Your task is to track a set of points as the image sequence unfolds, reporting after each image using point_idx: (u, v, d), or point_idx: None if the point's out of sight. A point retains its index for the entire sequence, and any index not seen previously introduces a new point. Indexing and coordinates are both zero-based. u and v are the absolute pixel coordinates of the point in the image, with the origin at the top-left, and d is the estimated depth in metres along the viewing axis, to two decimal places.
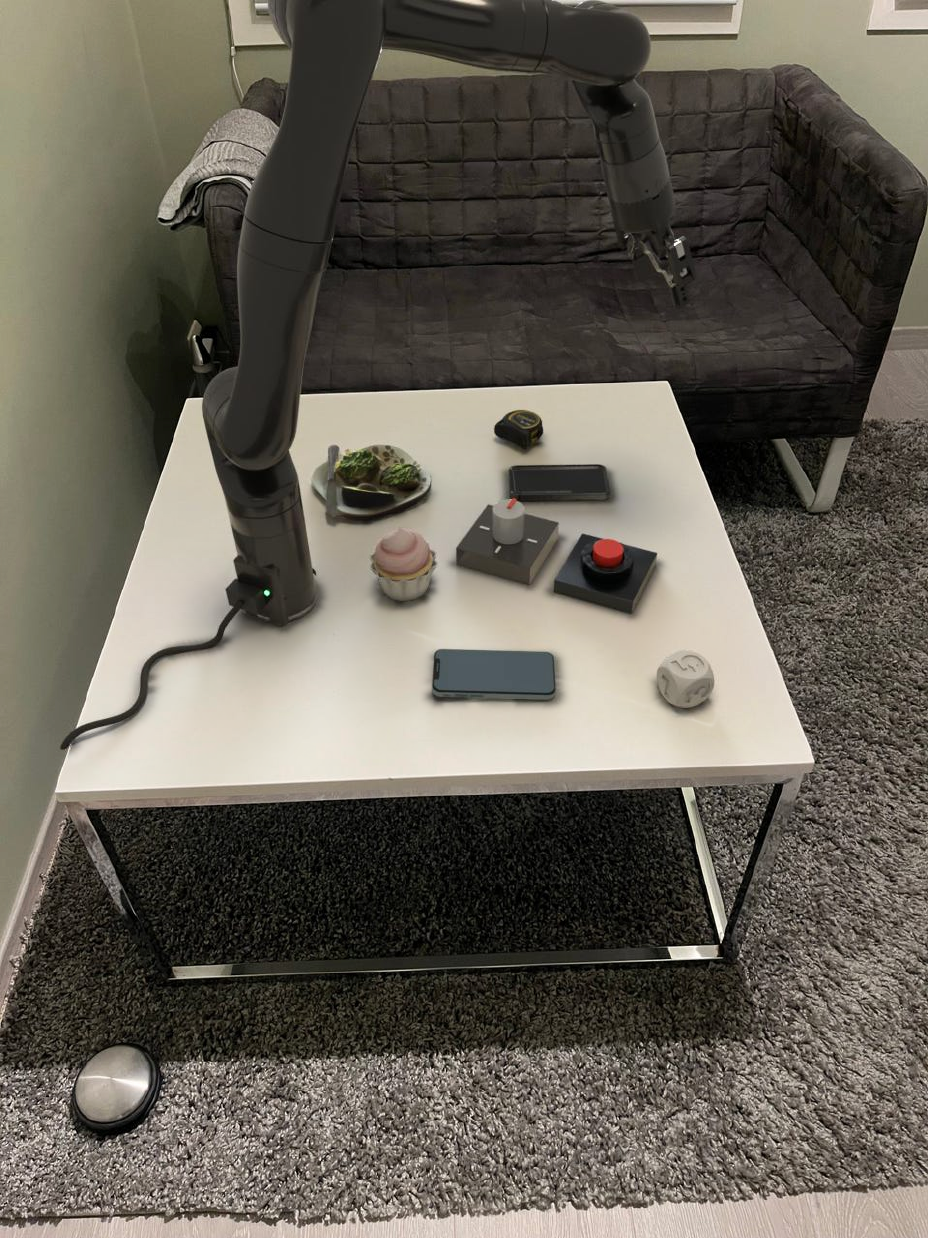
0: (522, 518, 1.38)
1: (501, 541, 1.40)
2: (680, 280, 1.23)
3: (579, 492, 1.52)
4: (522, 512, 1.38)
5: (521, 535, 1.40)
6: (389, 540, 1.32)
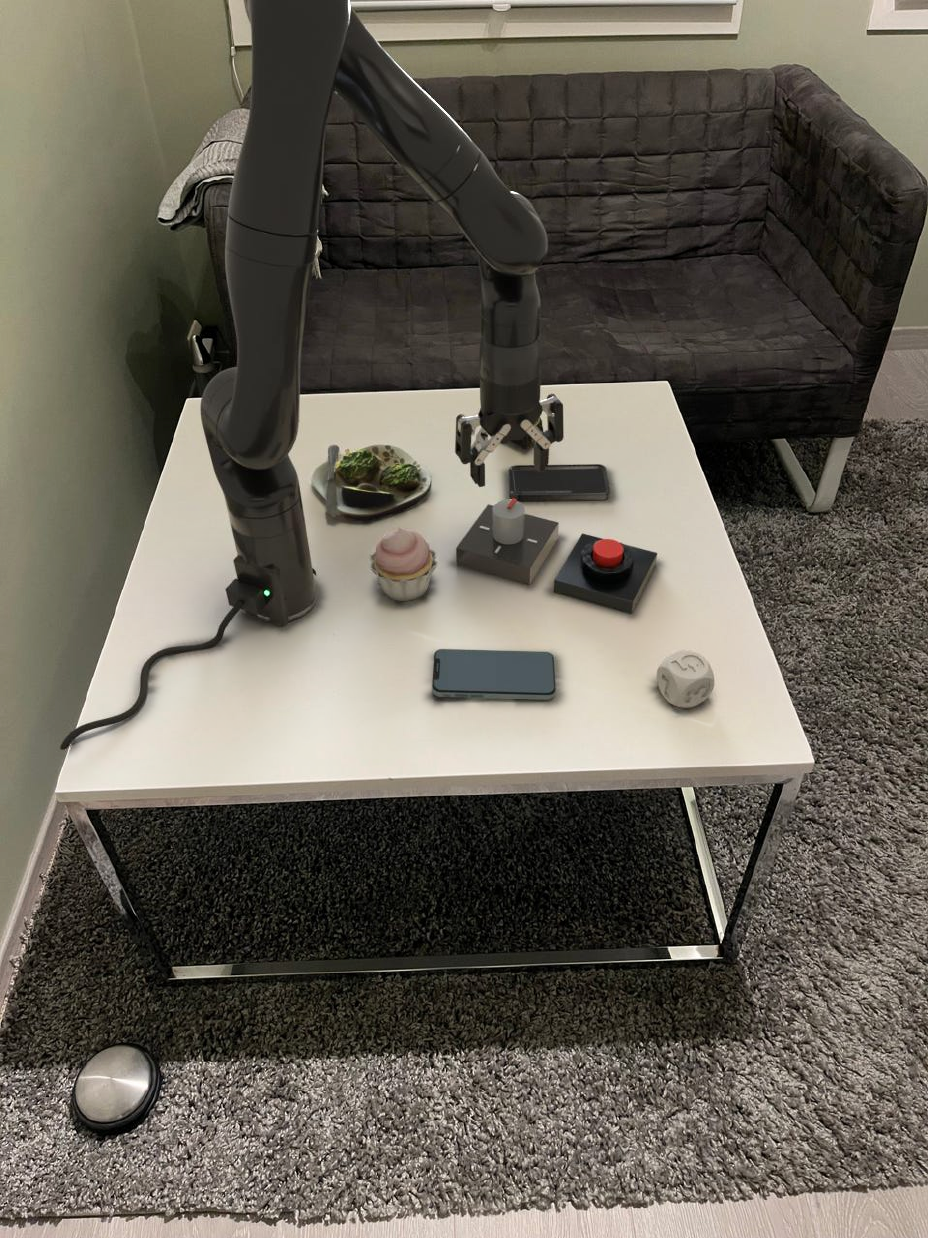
0: (522, 518, 1.38)
1: (501, 541, 1.40)
2: (455, 447, 1.30)
3: (579, 492, 1.52)
4: (522, 512, 1.38)
5: (521, 535, 1.40)
6: (389, 540, 1.32)
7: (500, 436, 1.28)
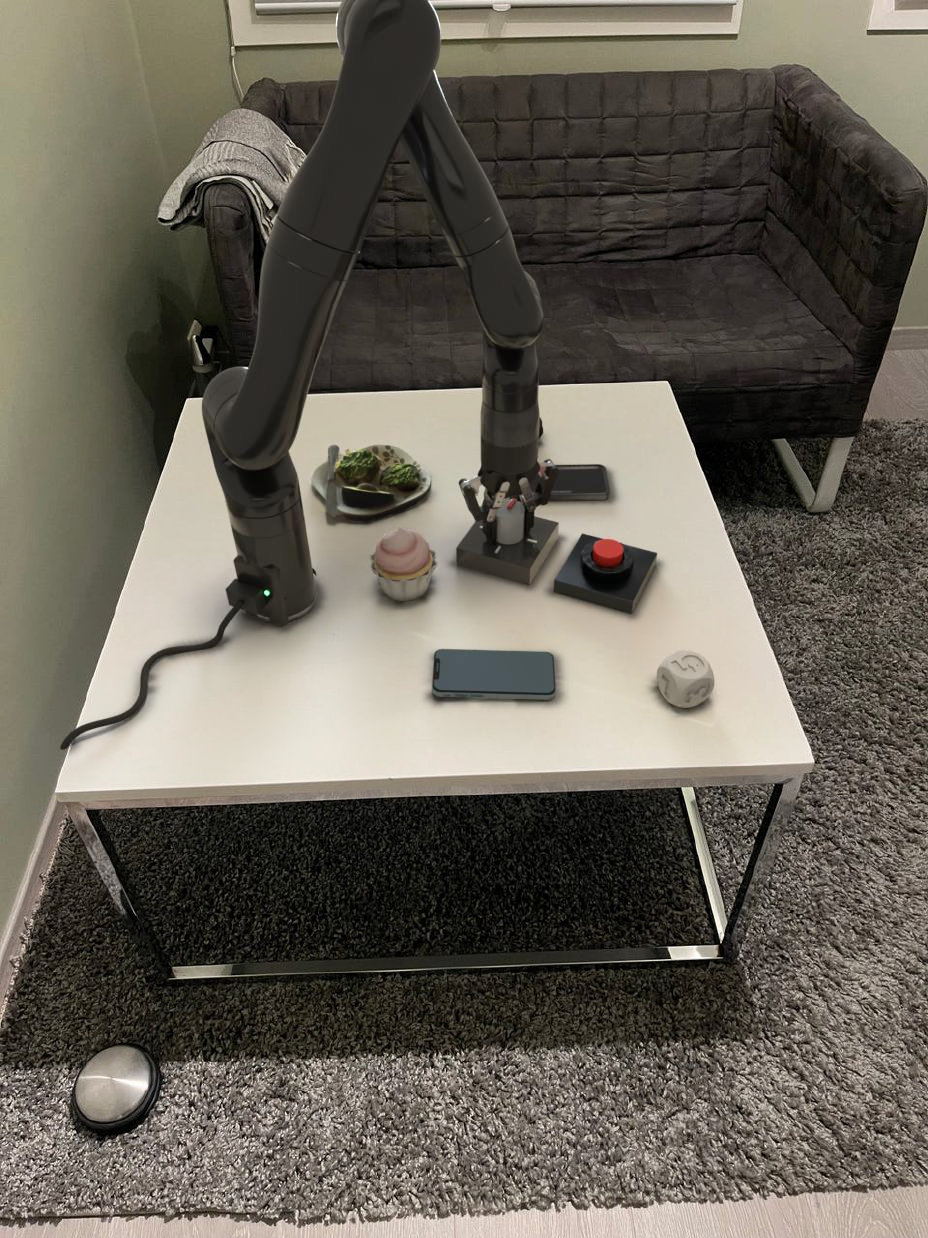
0: (522, 518, 1.38)
1: (501, 541, 1.40)
2: (467, 506, 1.37)
3: (579, 492, 1.52)
4: (522, 512, 1.38)
5: (521, 535, 1.40)
6: (389, 540, 1.32)
7: (502, 493, 1.34)
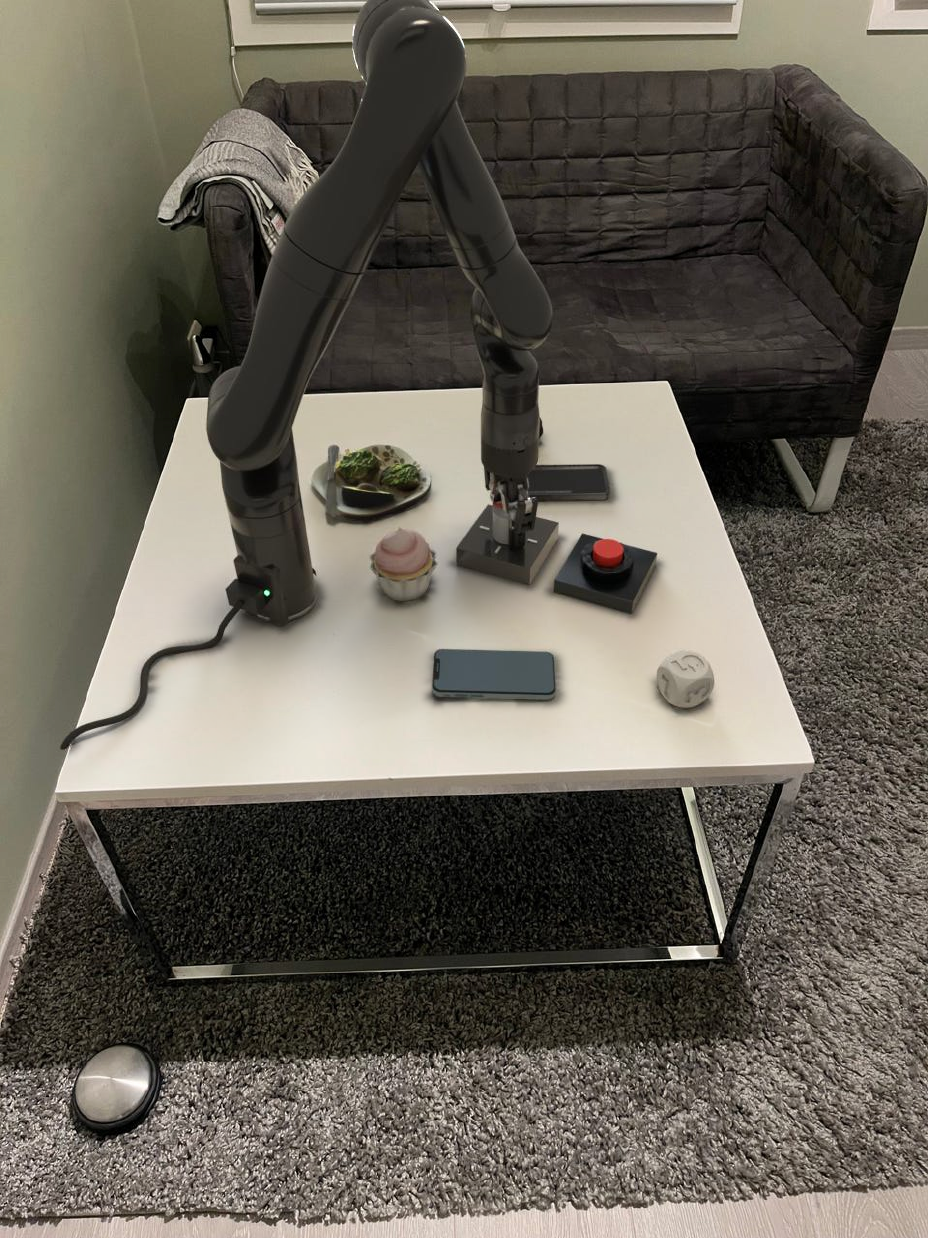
0: None
1: None
2: (519, 529, 1.33)
3: (579, 492, 1.52)
4: None
5: None
6: (389, 540, 1.32)
7: None
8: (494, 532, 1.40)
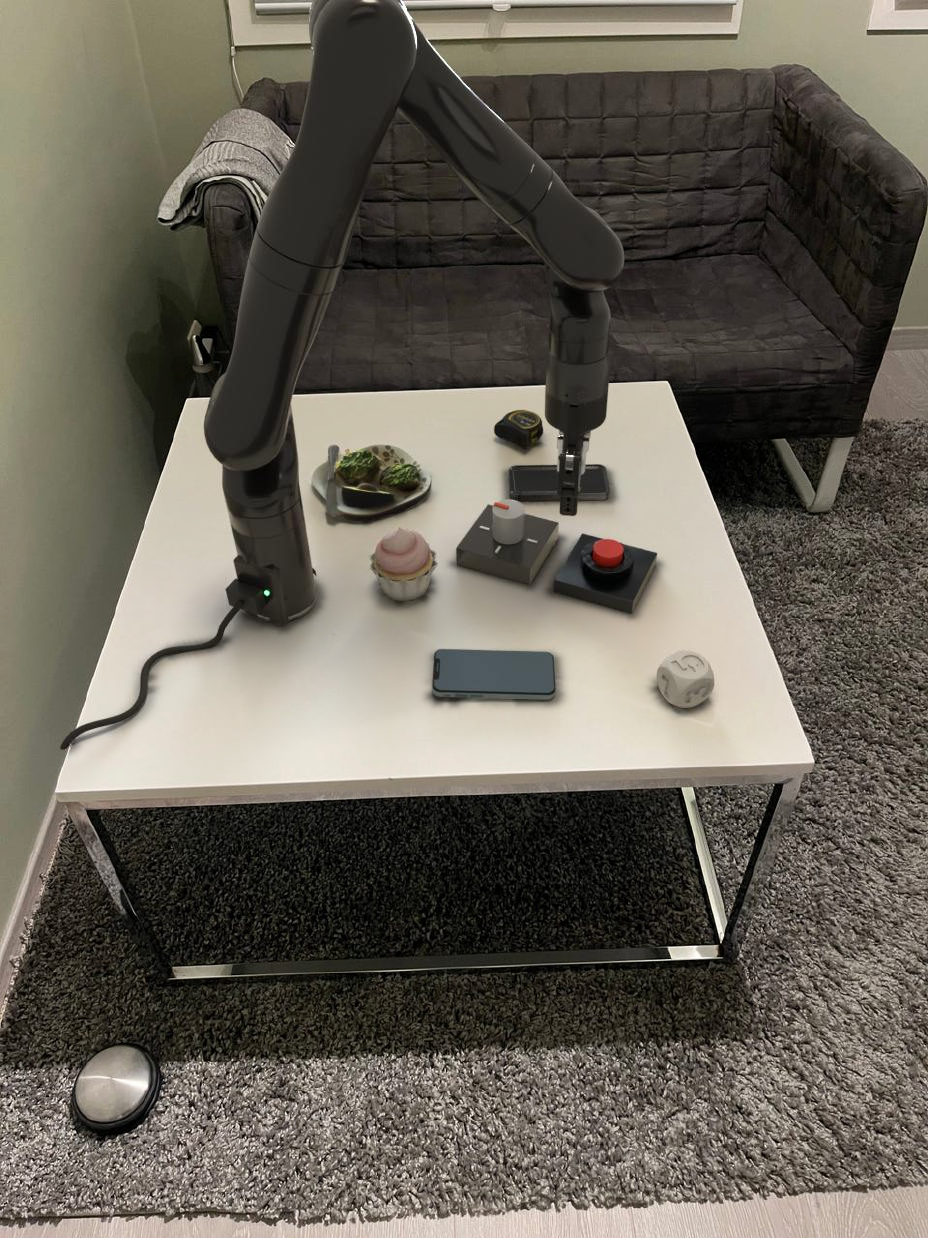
0: None
1: (522, 537, 1.40)
2: (560, 489, 1.23)
3: (579, 492, 1.52)
4: (515, 500, 1.40)
5: None
6: (389, 540, 1.32)
7: None
8: (494, 532, 1.40)
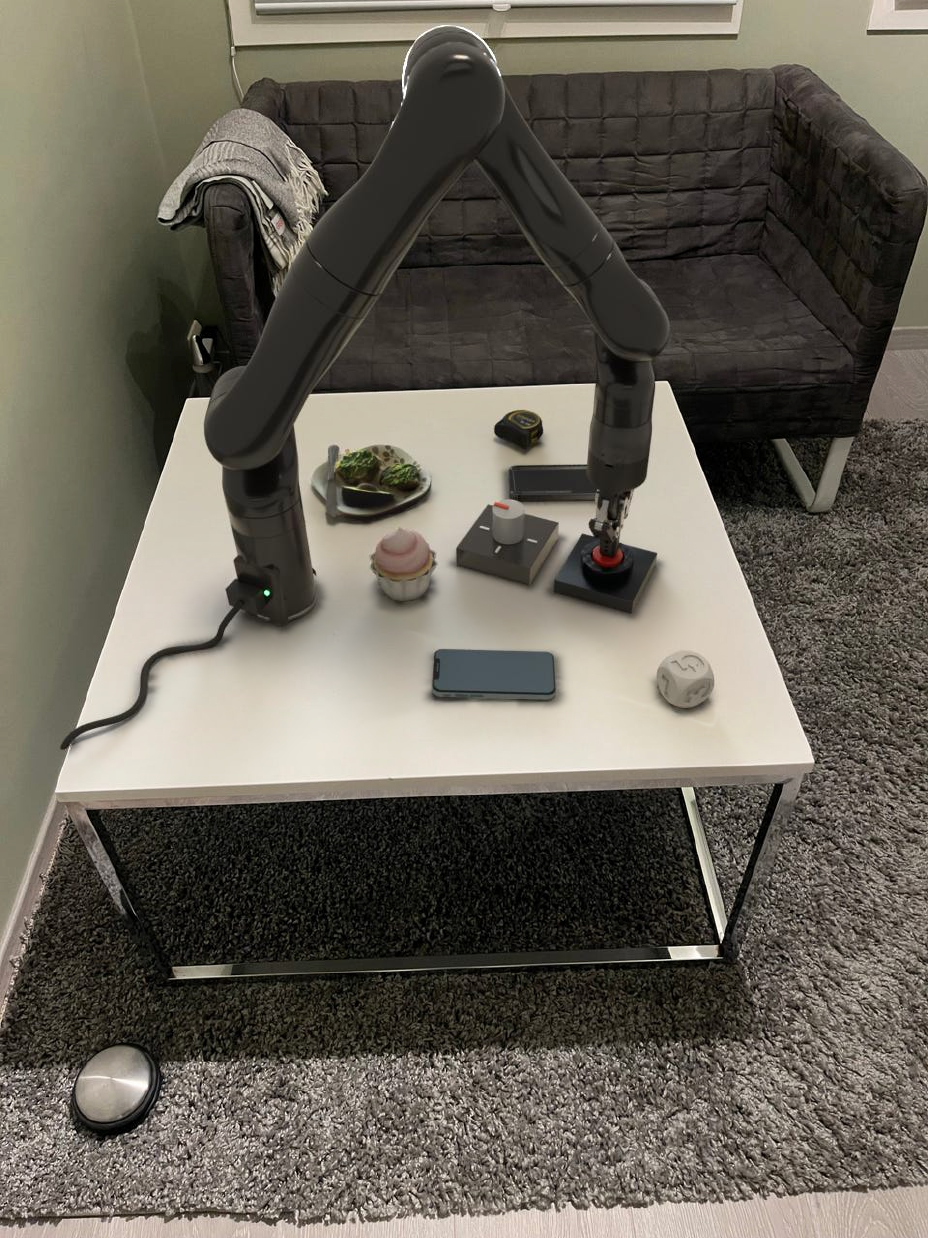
0: None
1: (522, 537, 1.40)
2: (595, 536, 1.30)
3: (579, 492, 1.52)
4: (515, 500, 1.40)
5: None
6: (389, 540, 1.32)
7: (624, 508, 1.29)
8: (494, 532, 1.40)
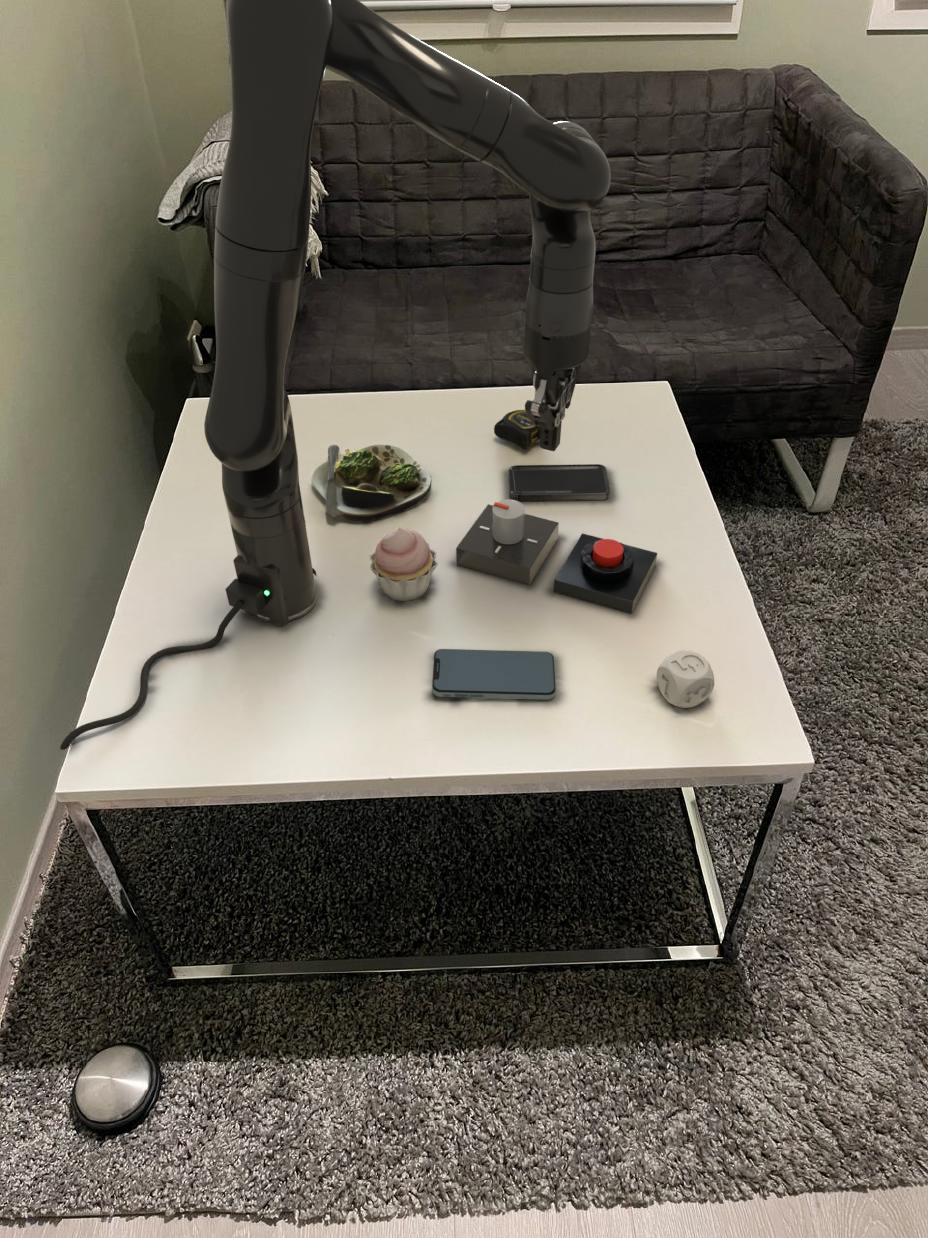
0: None
1: (522, 537, 1.40)
2: (533, 423, 1.21)
3: (579, 492, 1.52)
4: (515, 500, 1.40)
5: None
6: (389, 540, 1.32)
7: (564, 392, 1.19)
8: (494, 532, 1.40)
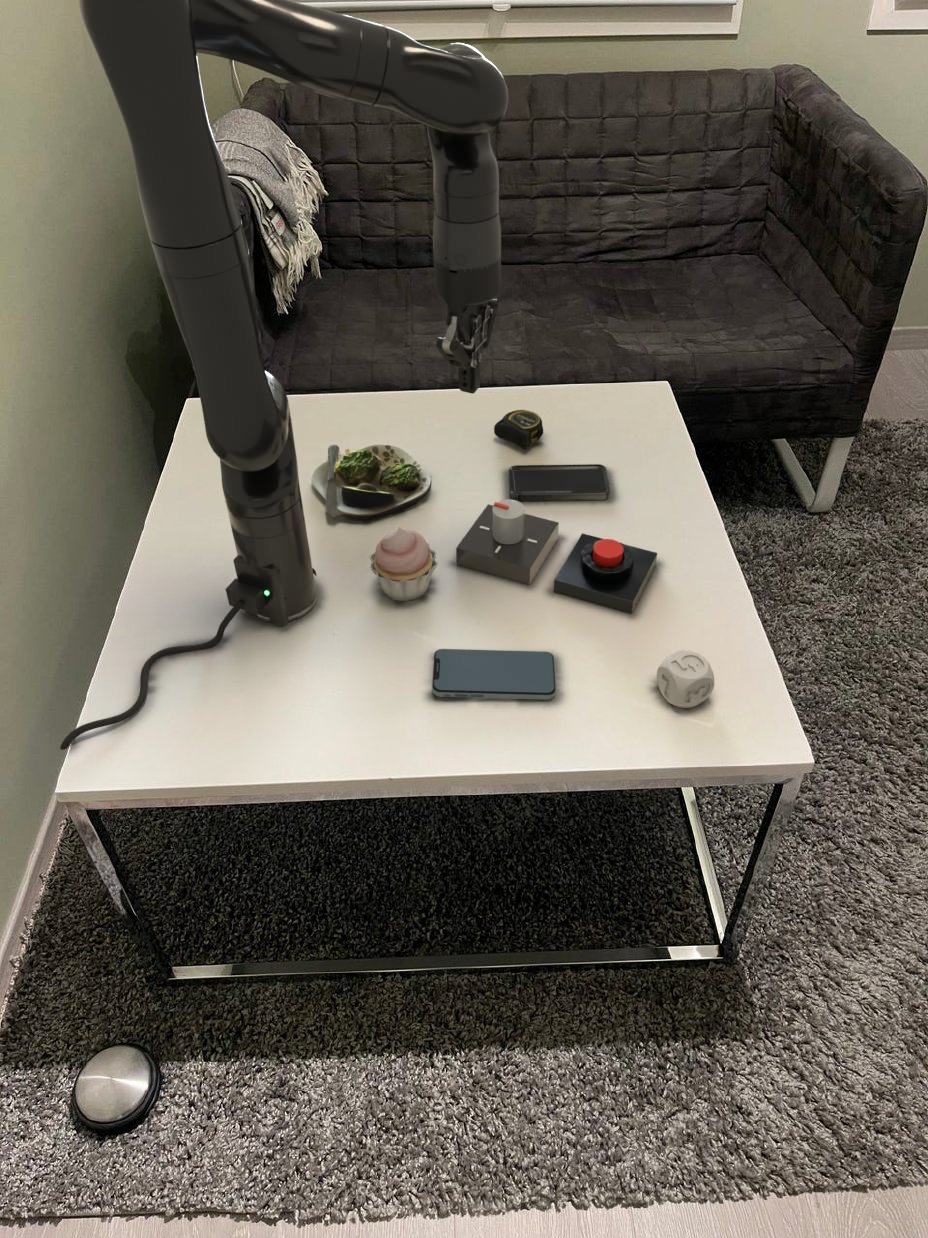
0: None
1: (522, 537, 1.40)
2: (449, 363, 1.18)
3: (579, 492, 1.52)
4: (515, 500, 1.40)
5: None
6: (389, 540, 1.32)
7: (478, 330, 1.17)
8: (494, 532, 1.40)
